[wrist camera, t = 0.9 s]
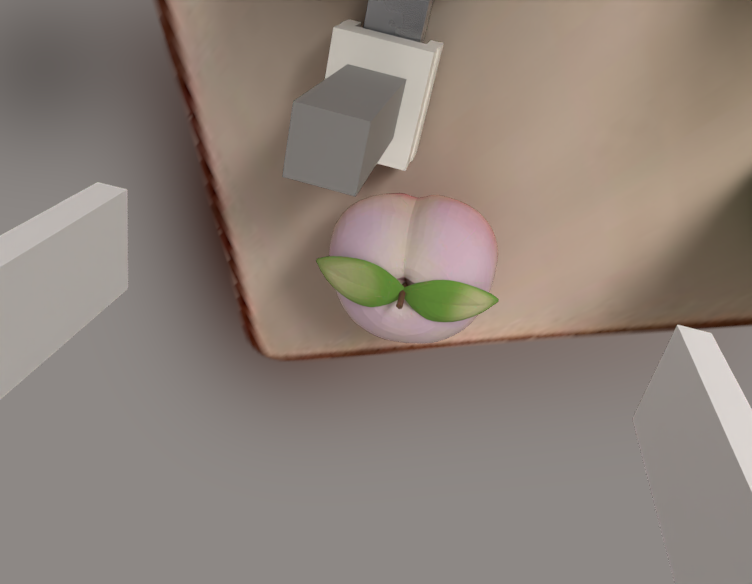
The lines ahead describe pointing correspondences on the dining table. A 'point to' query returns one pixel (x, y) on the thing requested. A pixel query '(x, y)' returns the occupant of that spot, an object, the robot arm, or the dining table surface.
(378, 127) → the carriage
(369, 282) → the decorative fruit
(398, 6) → the rail
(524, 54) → the dining table surface
